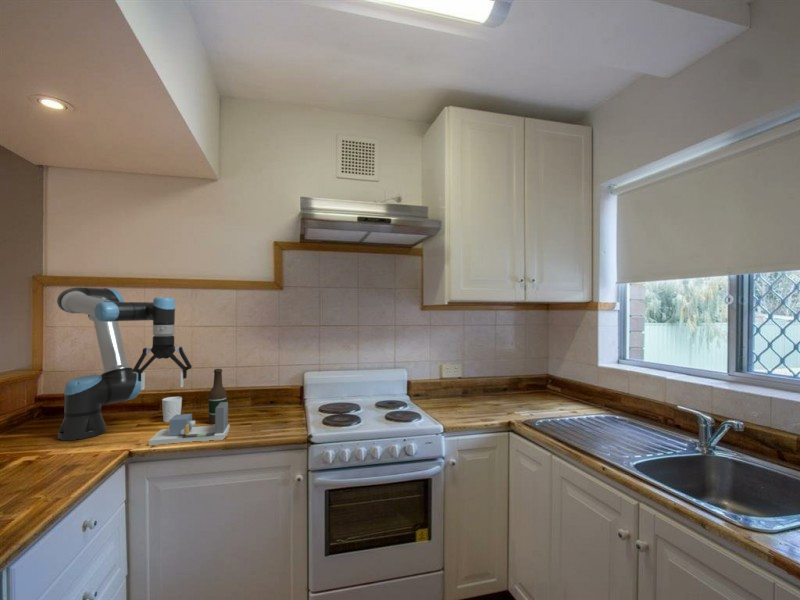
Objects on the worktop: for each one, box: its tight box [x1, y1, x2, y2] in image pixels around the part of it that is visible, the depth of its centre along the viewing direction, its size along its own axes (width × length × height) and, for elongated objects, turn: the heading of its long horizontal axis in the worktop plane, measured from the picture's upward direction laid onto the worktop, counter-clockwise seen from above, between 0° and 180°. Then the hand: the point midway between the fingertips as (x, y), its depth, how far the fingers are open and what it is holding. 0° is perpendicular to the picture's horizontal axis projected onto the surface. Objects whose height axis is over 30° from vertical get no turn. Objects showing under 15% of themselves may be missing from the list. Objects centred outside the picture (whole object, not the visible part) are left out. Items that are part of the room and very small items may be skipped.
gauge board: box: [148, 401, 231, 446], centre depth 154 cm, size 26×14×12 cm, turn 105°
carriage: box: [168, 413, 197, 436], centre depth 151 cm, size 8×11×6 cm
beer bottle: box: [208, 368, 227, 425], centre depth 174 cm, size 8×8×24 cm
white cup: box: [161, 396, 183, 423], centre depth 177 cm, size 8×8×10 cm
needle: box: [185, 424, 189, 435], centre depth 148 cm, size 1×2×4 cm, turn 15°
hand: (162, 388), depth 154 cm, fingers open, 13 cm apart
